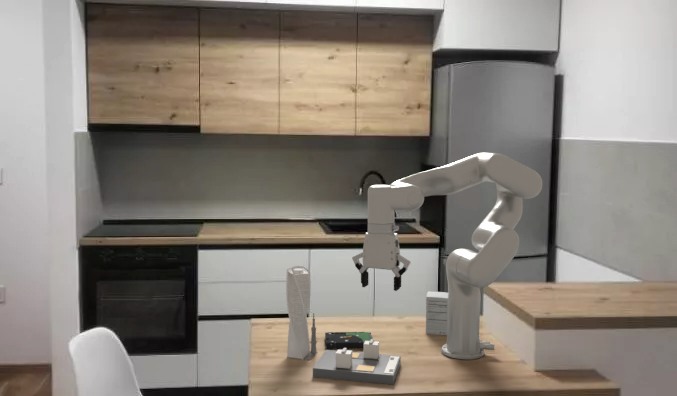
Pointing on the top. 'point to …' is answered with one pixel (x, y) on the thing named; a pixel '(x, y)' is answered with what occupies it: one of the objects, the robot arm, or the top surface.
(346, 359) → the front tab
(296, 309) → the skyscraper
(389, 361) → the switch board
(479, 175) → the robot arm
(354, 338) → the disk drive
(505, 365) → the top surface
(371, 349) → the tab
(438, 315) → the supplement box
